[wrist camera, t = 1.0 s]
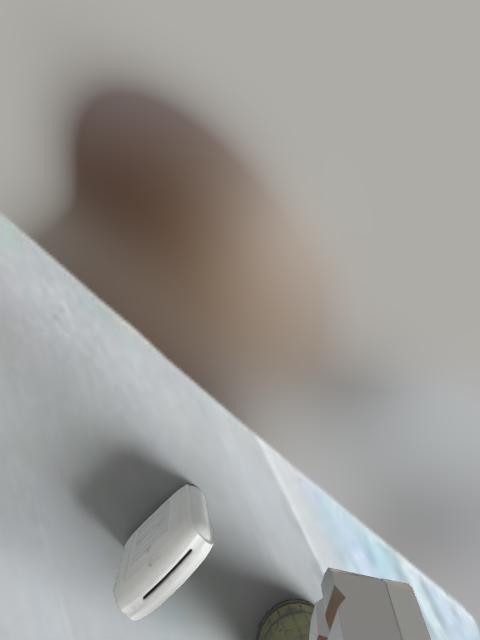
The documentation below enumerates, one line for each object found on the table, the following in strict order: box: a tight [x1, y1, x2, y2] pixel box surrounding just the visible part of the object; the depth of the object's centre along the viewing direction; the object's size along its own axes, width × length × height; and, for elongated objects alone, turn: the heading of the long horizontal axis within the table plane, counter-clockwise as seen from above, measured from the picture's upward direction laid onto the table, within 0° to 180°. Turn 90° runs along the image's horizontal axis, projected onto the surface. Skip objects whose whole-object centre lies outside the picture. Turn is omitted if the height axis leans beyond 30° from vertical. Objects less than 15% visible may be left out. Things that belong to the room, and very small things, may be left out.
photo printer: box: [113, 484, 214, 620], centre depth 46 cm, size 10×4×12 cm, turn 133°
